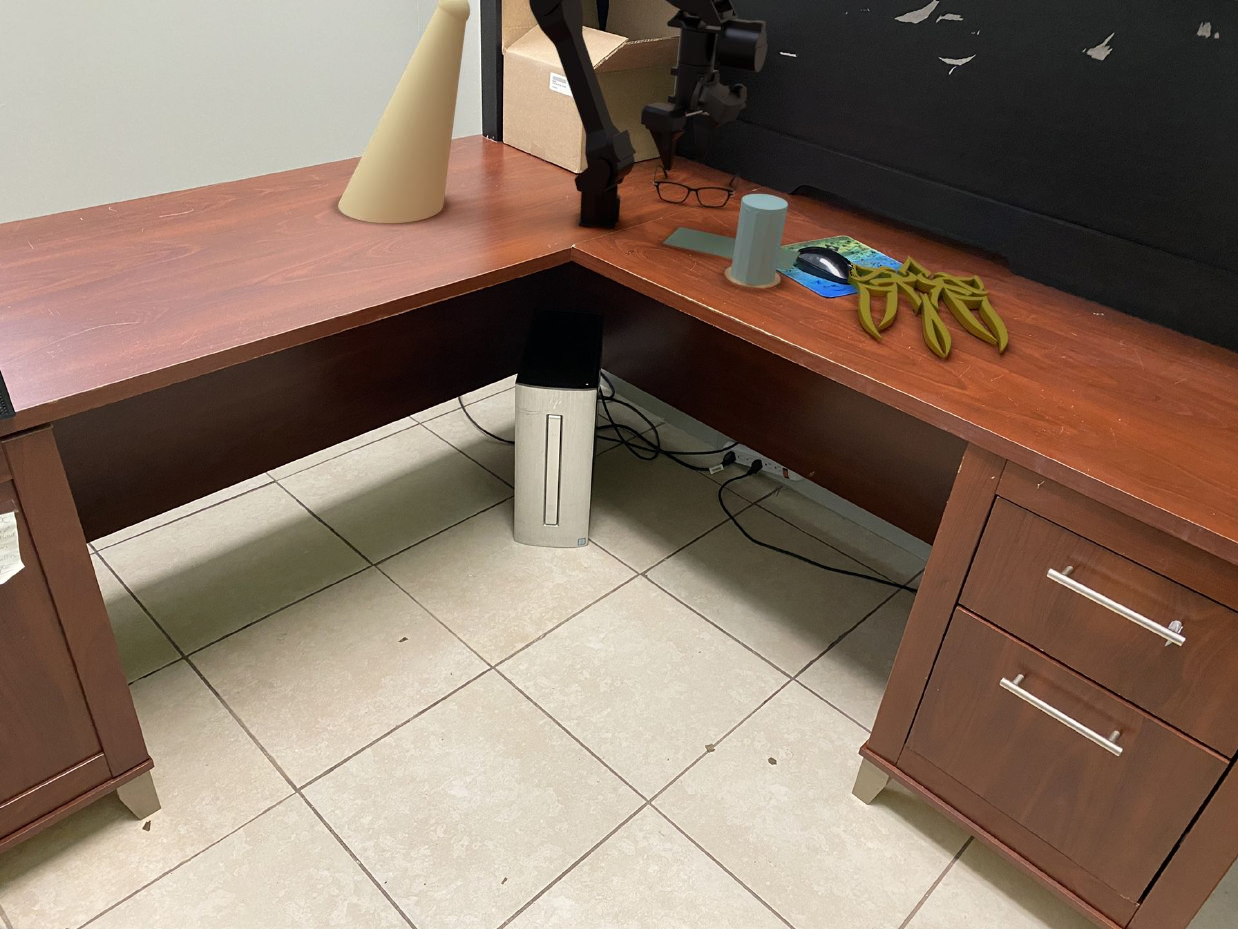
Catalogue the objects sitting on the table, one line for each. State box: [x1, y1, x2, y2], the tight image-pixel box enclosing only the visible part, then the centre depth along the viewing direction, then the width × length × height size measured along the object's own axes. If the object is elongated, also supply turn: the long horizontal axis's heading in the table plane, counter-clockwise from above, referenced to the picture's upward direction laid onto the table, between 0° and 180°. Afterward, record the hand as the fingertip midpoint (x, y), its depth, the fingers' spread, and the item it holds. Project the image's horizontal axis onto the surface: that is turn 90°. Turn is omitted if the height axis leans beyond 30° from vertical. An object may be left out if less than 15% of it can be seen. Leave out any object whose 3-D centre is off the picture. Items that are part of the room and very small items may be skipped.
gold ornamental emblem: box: [847, 254, 1009, 359], centre depth 133 cm, size 22×2×35 cm
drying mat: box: [662, 226, 801, 272], centre depth 148 cm, size 22×9×1 cm, turn 68°
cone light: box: [337, 0, 471, 224], centre depth 144 cm, size 25×18×35 cm
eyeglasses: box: [652, 164, 741, 209], centre depth 170 cm, size 16×16×4 cm
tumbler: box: [731, 193, 789, 285], centre depth 135 cm, size 7×7×12 cm
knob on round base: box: [723, 265, 781, 289], centre depth 137 cm, size 9×9×6 cm
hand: (684, 164), depth 142 cm, fingers open, 9 cm apart
